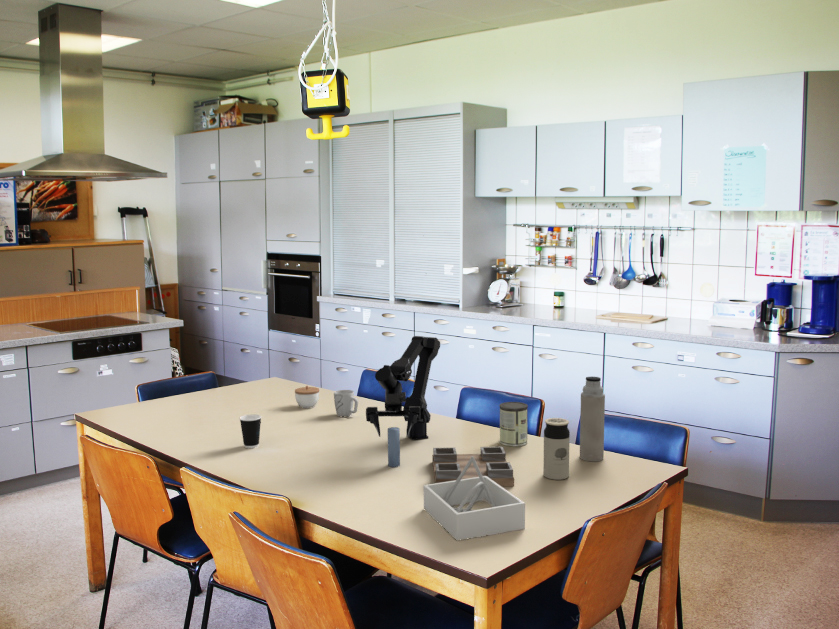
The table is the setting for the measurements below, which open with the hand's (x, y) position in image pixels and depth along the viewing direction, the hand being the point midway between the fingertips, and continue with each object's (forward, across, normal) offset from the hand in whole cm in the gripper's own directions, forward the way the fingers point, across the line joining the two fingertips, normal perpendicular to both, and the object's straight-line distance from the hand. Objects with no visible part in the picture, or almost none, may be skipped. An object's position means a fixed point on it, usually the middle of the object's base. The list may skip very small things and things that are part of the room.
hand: (393, 435), depth 242 cm
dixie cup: (-8, -52, +22) cm, 57 cm away
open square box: (+40, +22, -27) cm, 53 cm away
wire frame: (+40, +20, -26) cm, 52 cm away
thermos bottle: (+5, +68, +8) cm, 68 cm away
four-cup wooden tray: (+15, +25, -1) cm, 29 cm away
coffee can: (-8, +44, +22) cm, 50 cm away
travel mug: (+17, +52, -4) cm, 55 cm away
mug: (-38, -20, +51) cm, 67 cm away
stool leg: (+8, 0, +5) cm, 10 cm away
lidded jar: (-49, -39, +63) cm, 89 cm away
